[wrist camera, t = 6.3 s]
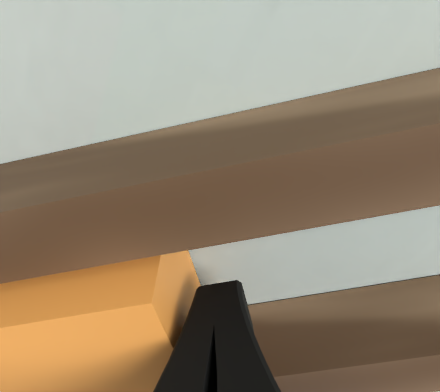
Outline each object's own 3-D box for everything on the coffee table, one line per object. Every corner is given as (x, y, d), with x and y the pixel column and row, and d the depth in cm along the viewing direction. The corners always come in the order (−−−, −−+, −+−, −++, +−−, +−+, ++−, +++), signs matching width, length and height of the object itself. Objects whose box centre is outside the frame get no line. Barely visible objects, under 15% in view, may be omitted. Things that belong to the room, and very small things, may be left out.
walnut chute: (664, 277, 14) (765, 350, 11) (97, 361, 16) (75, 436, 14) (829, -18, 9) (1084, -8, 6) (-29, 170, 11) (-101, 232, 9)
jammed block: (209, 310, 14) (206, 419, 11) (85, 329, 15) (46, 439, 11) (170, 202, 12) (151, 303, 8) (22, 231, 12) (-53, 336, 9)
